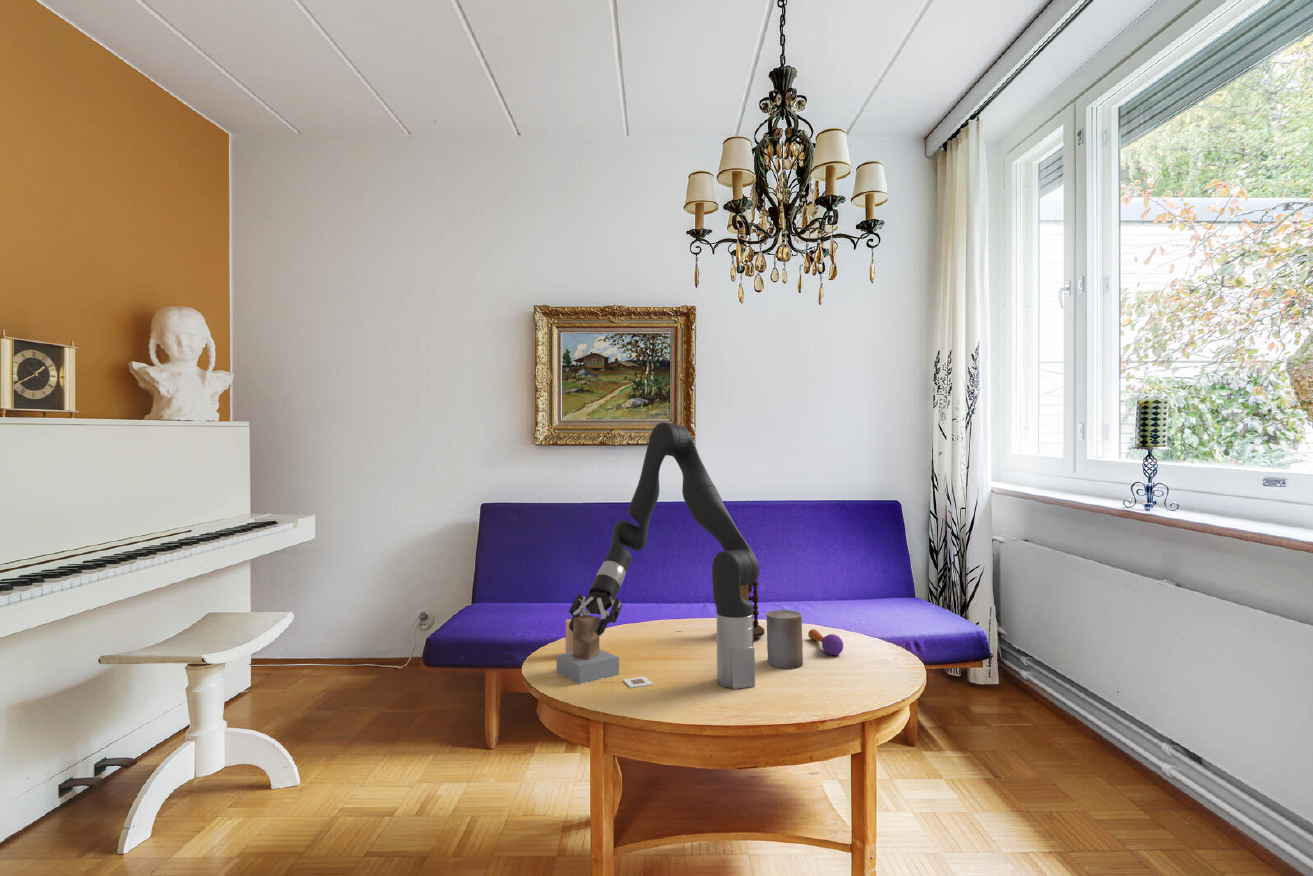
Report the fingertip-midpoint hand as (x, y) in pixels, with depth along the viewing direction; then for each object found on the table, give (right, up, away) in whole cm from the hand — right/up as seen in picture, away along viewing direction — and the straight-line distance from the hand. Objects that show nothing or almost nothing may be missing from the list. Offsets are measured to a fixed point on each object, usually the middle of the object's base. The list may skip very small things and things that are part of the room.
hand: (584, 632), depth 171 cm
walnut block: (0, -7, +1) cm, 7 cm away
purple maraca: (+69, -12, +23) cm, 74 cm away
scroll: (+46, -13, +36) cm, 60 cm away
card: (+14, -11, -7) cm, 19 cm away
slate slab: (+1, -12, +1) cm, 12 cm away
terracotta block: (-4, -12, +17) cm, 21 cm away
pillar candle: (+55, -11, +8) cm, 56 cm away
